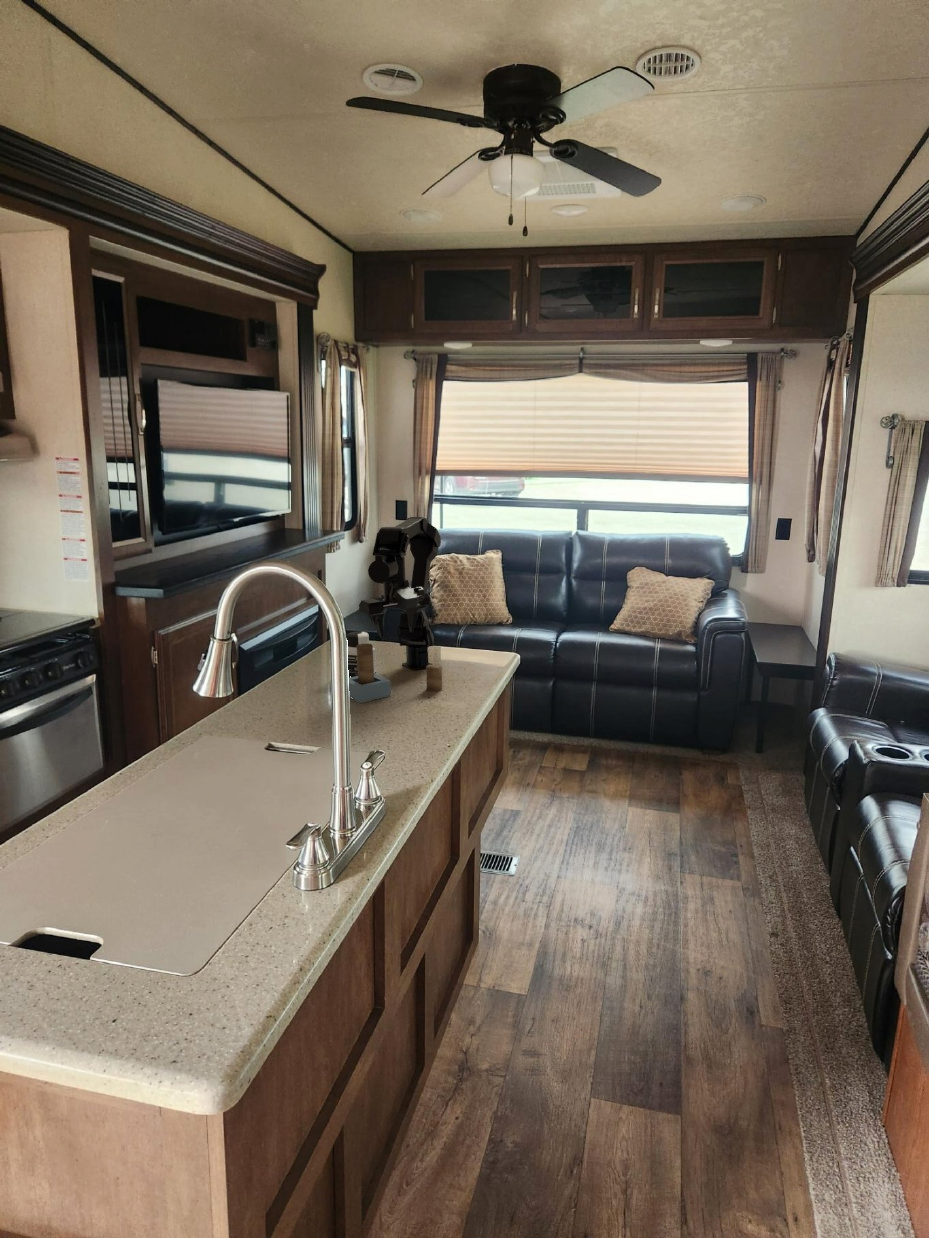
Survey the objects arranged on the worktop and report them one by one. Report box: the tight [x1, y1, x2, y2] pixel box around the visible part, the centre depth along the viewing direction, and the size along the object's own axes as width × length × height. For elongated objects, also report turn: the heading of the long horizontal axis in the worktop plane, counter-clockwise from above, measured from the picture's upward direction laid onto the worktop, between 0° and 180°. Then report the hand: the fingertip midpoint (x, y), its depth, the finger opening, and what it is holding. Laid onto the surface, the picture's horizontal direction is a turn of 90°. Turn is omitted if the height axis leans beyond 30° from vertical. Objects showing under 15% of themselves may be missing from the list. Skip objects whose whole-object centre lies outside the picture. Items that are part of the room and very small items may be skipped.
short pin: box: [425, 664, 443, 692], centre depth 214 cm, size 4×4×6 cm
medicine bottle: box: [346, 630, 377, 678], centre depth 226 cm, size 7×7×12 cm
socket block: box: [349, 673, 392, 704], centre depth 210 cm, size 9×9×4 cm
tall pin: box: [356, 643, 375, 685], centre depth 209 cm, size 4×4×13 cm
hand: (396, 634), depth 218 cm, fingers open, 9 cm apart
